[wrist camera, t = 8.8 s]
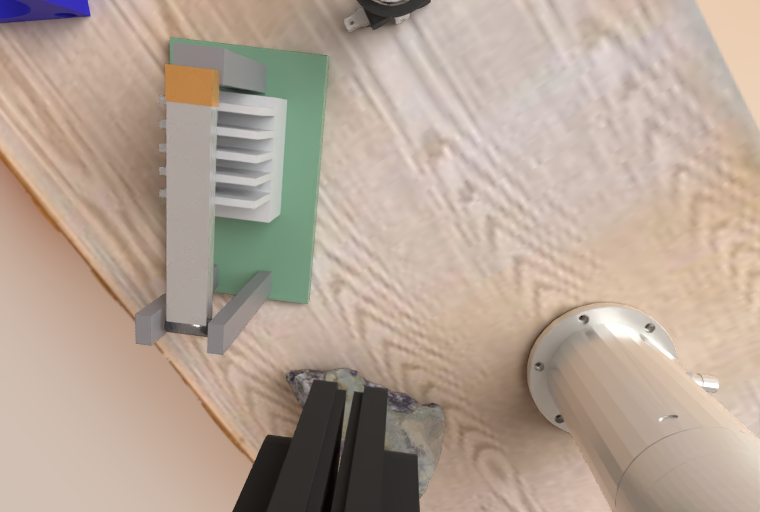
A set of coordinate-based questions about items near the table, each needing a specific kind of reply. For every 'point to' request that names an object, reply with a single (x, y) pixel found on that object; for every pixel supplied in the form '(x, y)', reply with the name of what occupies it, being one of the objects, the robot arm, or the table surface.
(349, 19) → the push button
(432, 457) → the mineral rock
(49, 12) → the blue cradle bracket
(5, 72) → the table surface
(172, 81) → the hinged grey bar
